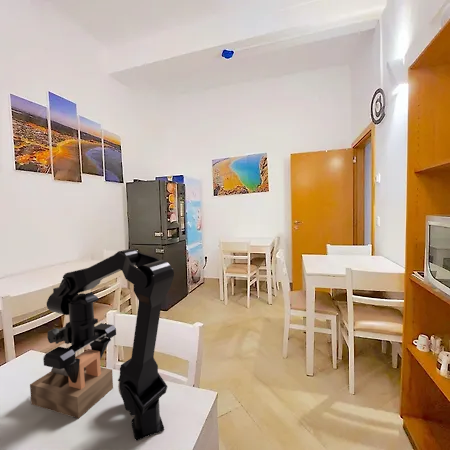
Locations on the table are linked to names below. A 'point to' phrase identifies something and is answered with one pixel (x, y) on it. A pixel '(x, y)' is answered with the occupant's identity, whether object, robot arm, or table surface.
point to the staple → (87, 367)
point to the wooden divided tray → (70, 392)
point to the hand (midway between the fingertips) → (85, 374)
